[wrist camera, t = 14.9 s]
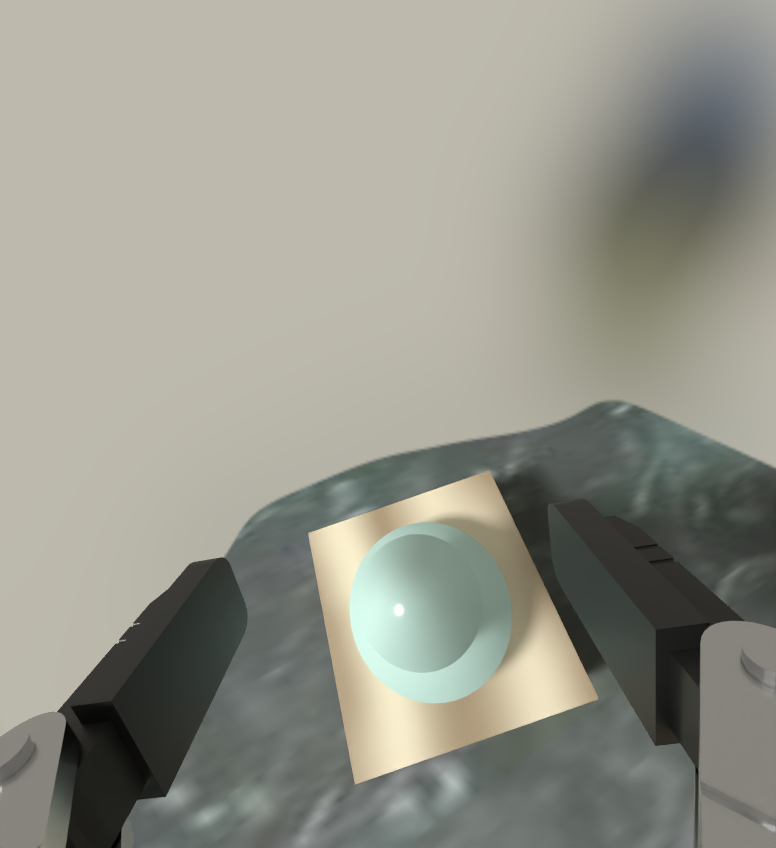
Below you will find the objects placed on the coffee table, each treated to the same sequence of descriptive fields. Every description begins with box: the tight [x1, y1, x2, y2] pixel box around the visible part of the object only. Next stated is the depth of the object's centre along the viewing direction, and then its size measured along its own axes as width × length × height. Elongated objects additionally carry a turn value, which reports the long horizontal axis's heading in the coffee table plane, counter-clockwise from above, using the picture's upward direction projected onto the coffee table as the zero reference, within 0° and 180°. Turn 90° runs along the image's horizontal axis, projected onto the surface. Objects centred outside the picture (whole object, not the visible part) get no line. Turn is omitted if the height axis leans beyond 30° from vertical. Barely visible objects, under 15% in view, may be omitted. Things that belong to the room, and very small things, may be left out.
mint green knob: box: [350, 522, 512, 703], centre depth 16 cm, size 8×8×8 cm
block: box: [308, 470, 598, 784], centre depth 22 cm, size 12×12×5 cm
